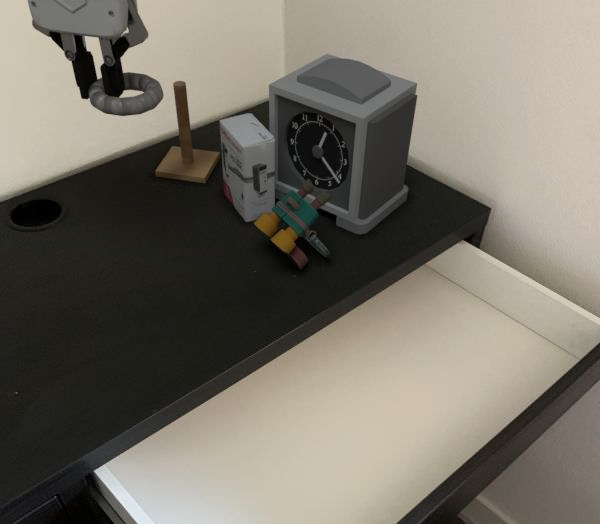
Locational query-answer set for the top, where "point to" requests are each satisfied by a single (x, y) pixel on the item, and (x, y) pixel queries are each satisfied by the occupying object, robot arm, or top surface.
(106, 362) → the top surface
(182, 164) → the stand
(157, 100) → the ring
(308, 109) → the alarm clock
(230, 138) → the ink box
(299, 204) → the teal and yellow figure
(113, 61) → the robot arm
